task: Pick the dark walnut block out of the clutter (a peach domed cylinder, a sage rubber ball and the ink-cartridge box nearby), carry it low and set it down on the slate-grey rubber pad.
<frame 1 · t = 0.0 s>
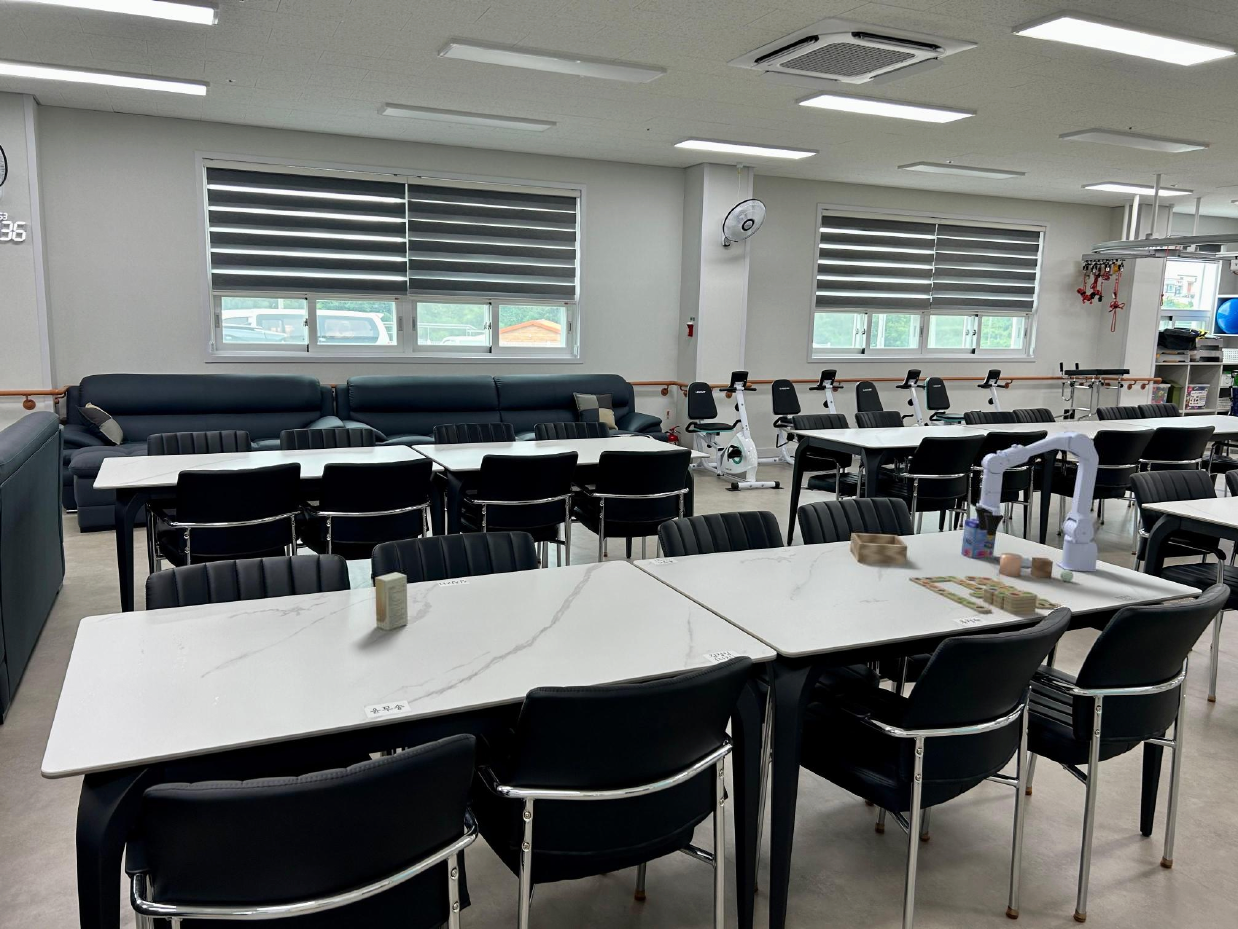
hand: (987, 532, 284), 10 cm above the table, fingers open, 7 cm apart
peach domed cylinder: (1009, 574, 273), on the table
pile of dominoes: (984, 596, 251), on the table
ink cartridge box: (977, 556, 295), on the table
sage ball: (1066, 581, 267), on the table
walnut block: (1040, 576, 272), on the table
skincare box: (391, 626, 209), on the table
slate pad: (1016, 563, 287), on the table
holder corral: (877, 557, 288), on the table
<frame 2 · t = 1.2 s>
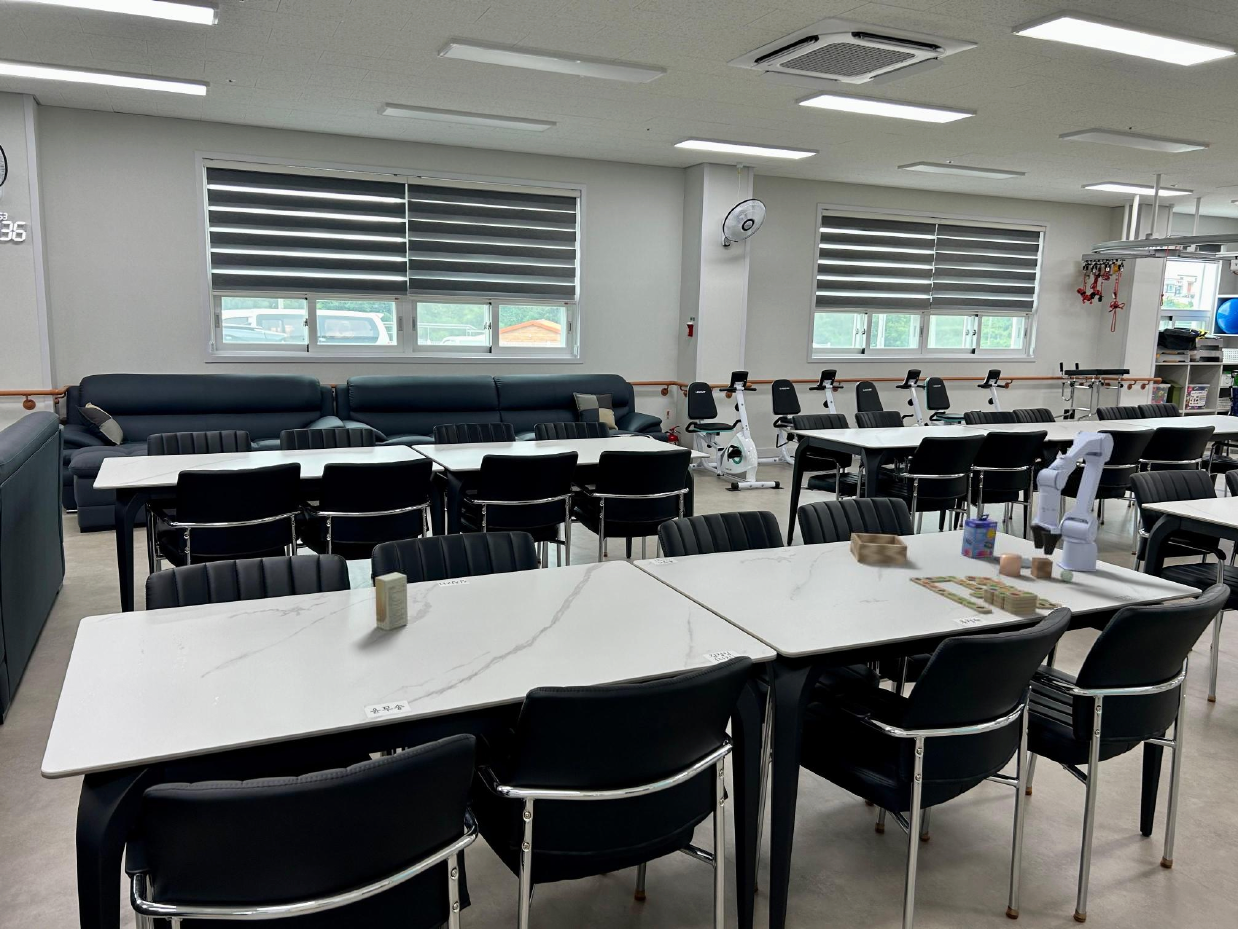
hand: (1043, 551, 270), 8 cm above the table, fingers open, 7 cm apart
nothing on the table moved.
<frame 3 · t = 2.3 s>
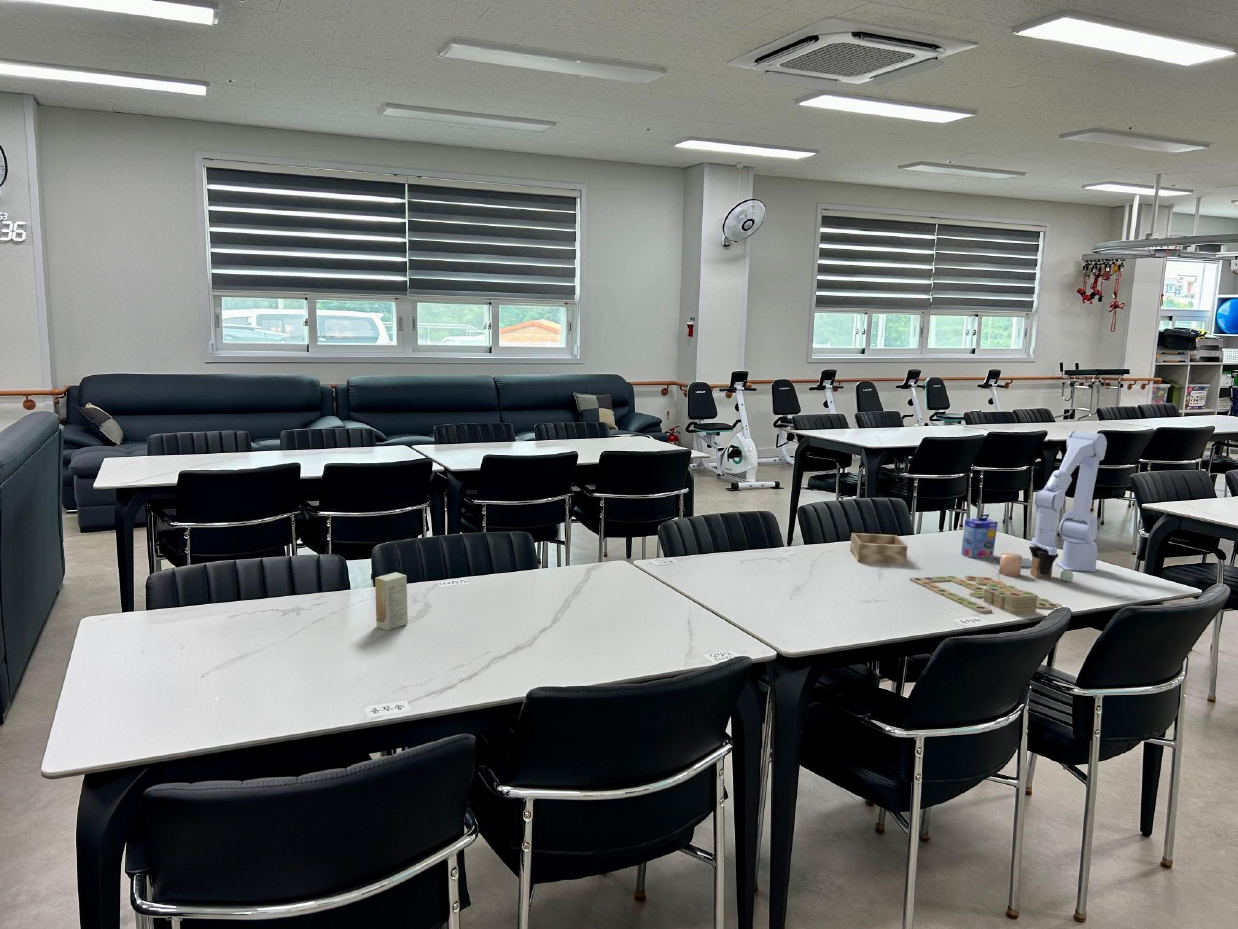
hand: (1041, 572, 271), 1 cm above the table, fingers closed on walnut block, 4 cm apart
walnut block: (1040, 576, 272), on the table, touching gripper
everything else where it was.
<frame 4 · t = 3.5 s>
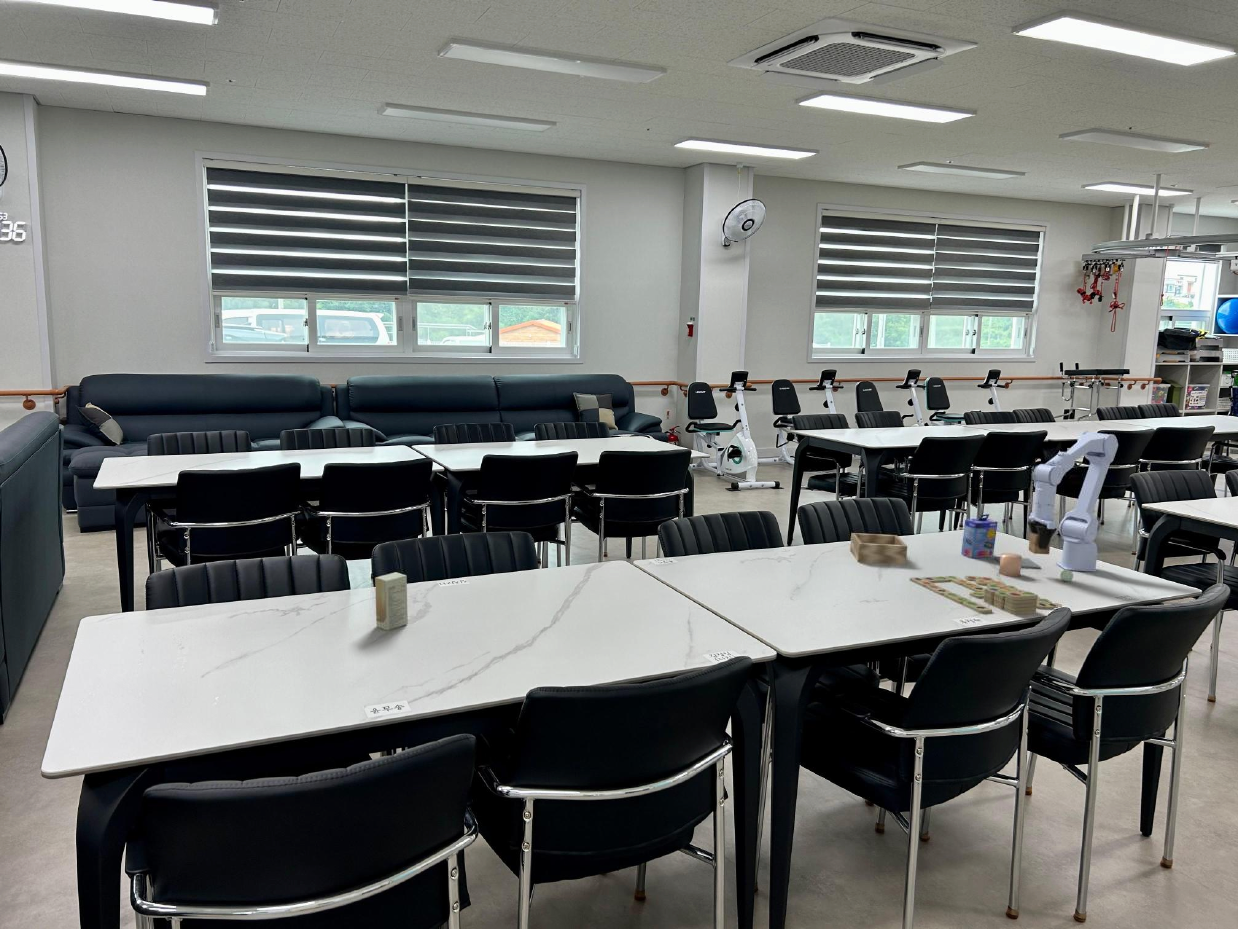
hand: (1039, 546, 273), 9 cm above the table, fingers closed on walnut block, 4 cm apart
walnut block: (1038, 552, 273), point 7 cm above the table, touching gripper
everything else where it was.
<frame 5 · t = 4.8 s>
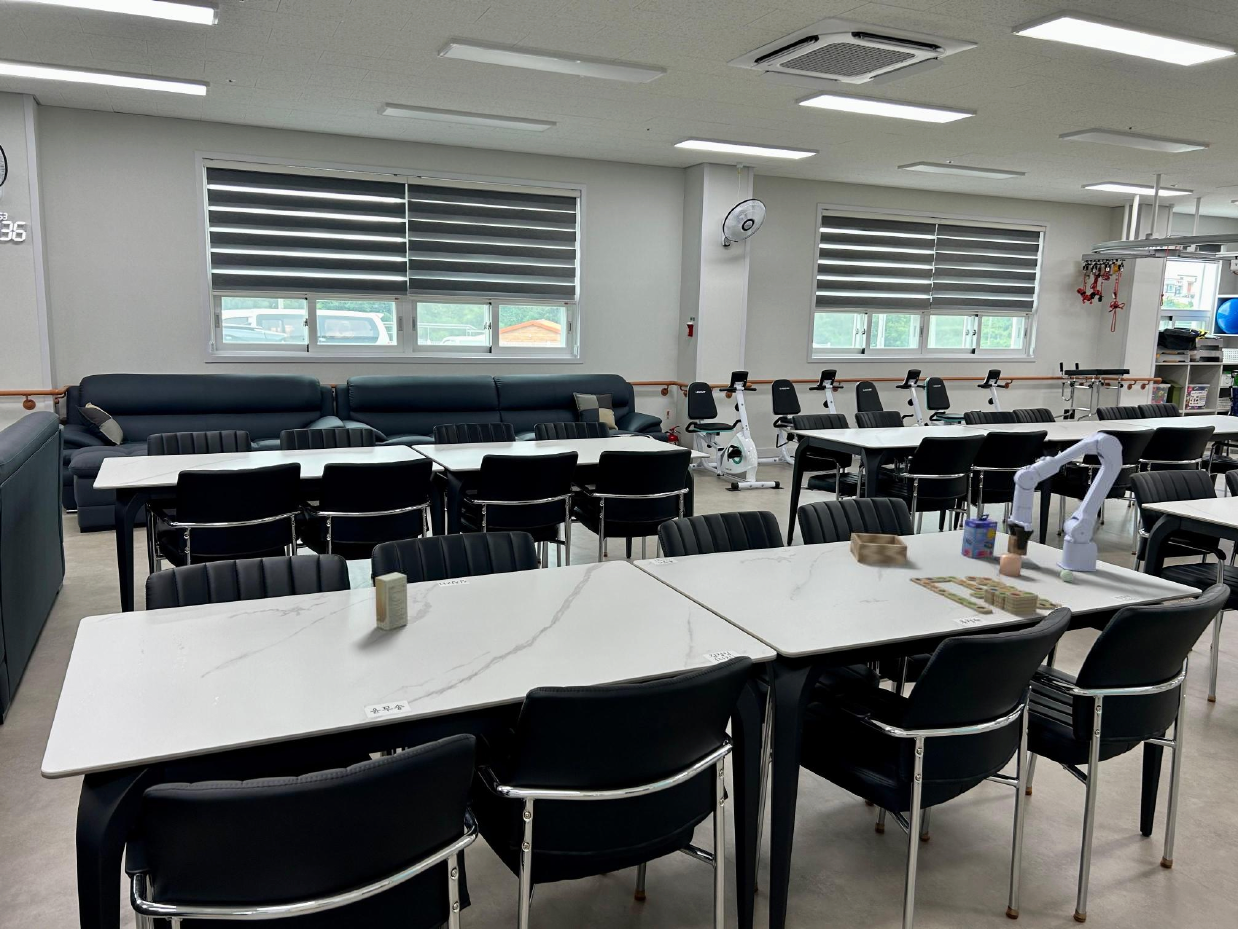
hand: (1018, 547, 286), 5 cm above the table, fingers closed on walnut block, 4 cm apart
walnut block: (1016, 553, 286), point 3 cm above the table, touching gripper
everything else where it was.
when the fingers open (3 cm above the table, at t = 5.7 s): walnut block stays where it is, resting on slate pad.
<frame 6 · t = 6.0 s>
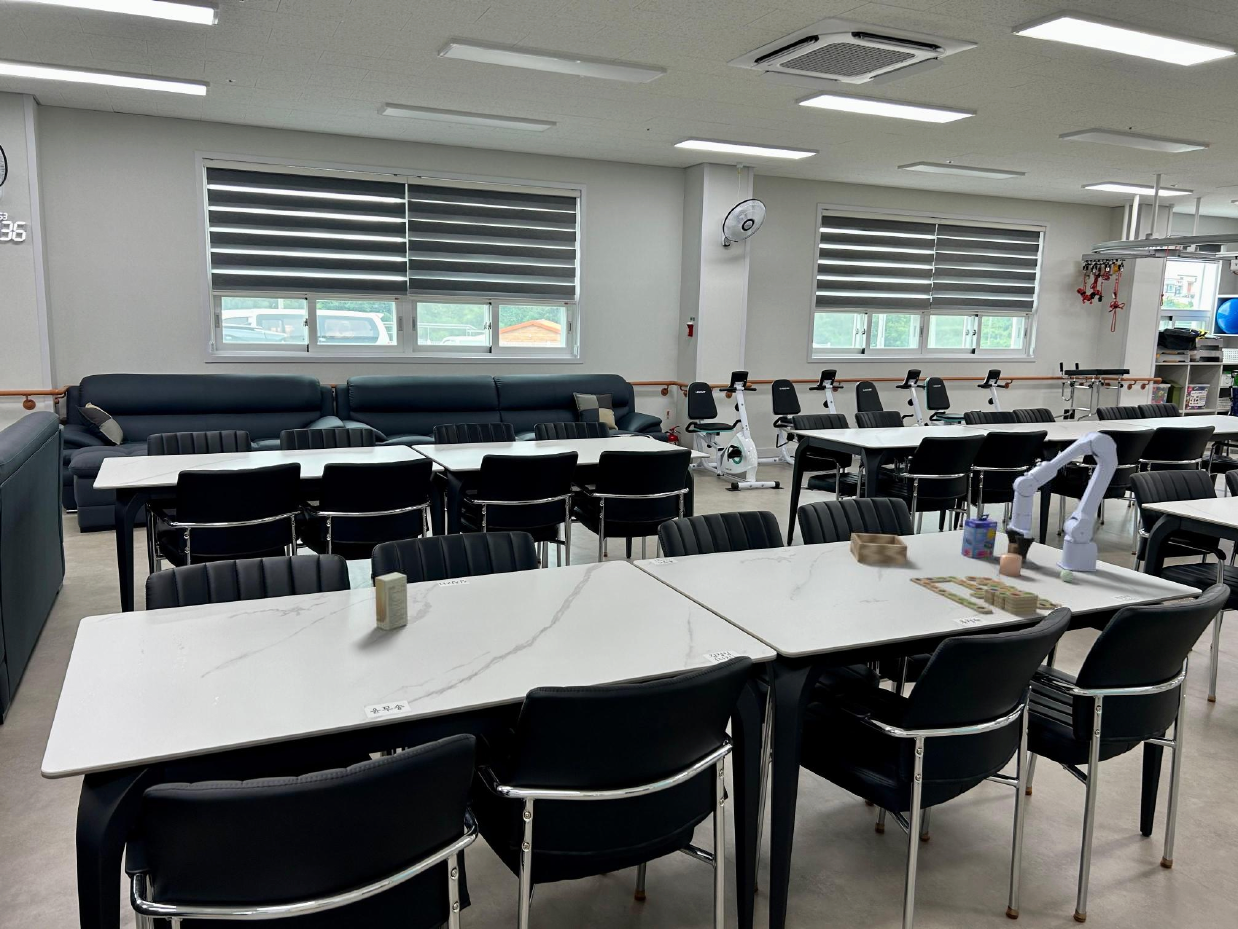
hand: (1017, 554, 286), 3 cm above the table, fingers open, 7 cm apart
walnut block: (1016, 561, 287), point 1 cm above the table, touching slate pad
everything else where it was.
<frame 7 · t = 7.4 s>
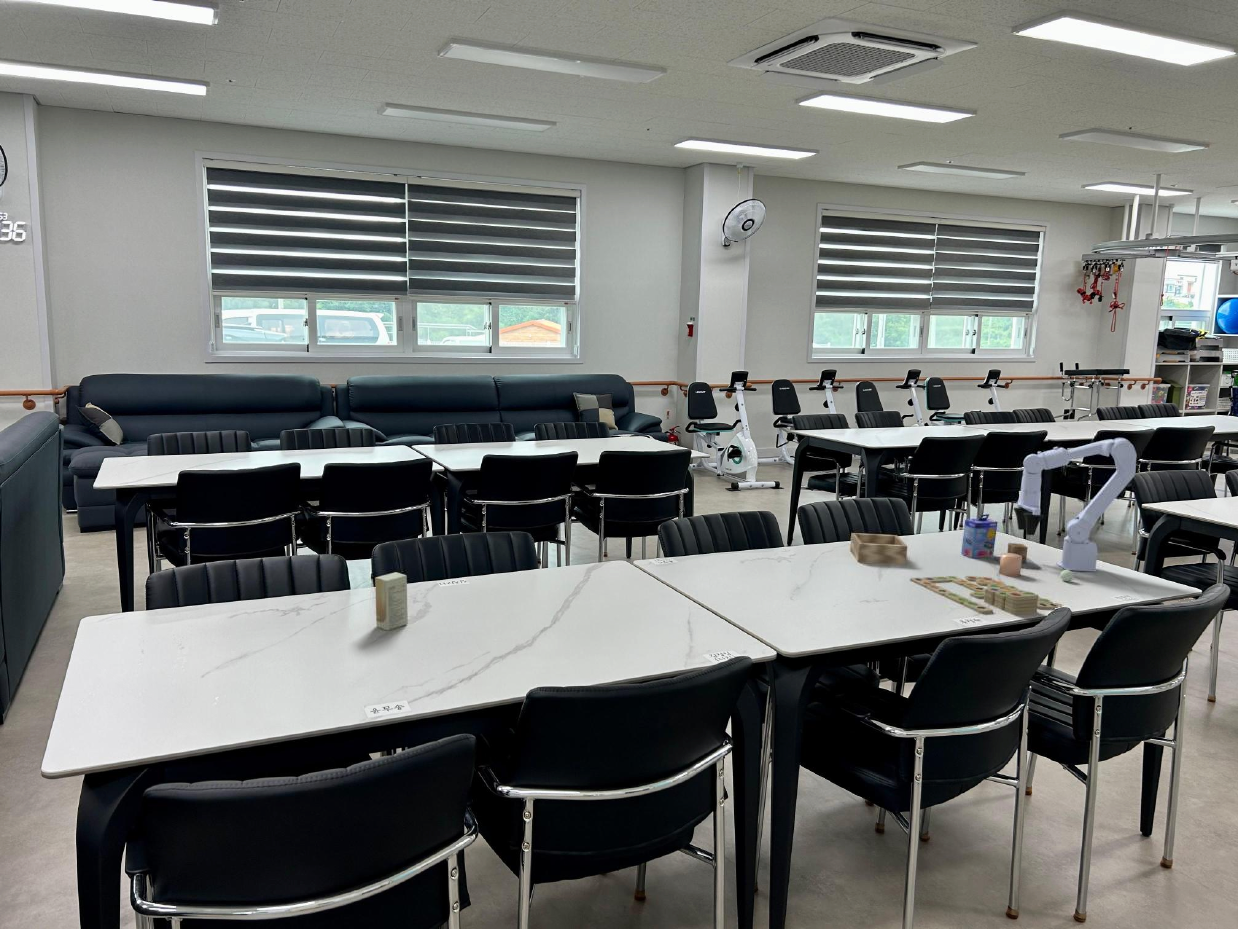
hand: (1026, 532, 288), 10 cm above the table, fingers open, 7 cm apart
nothing on the table moved.
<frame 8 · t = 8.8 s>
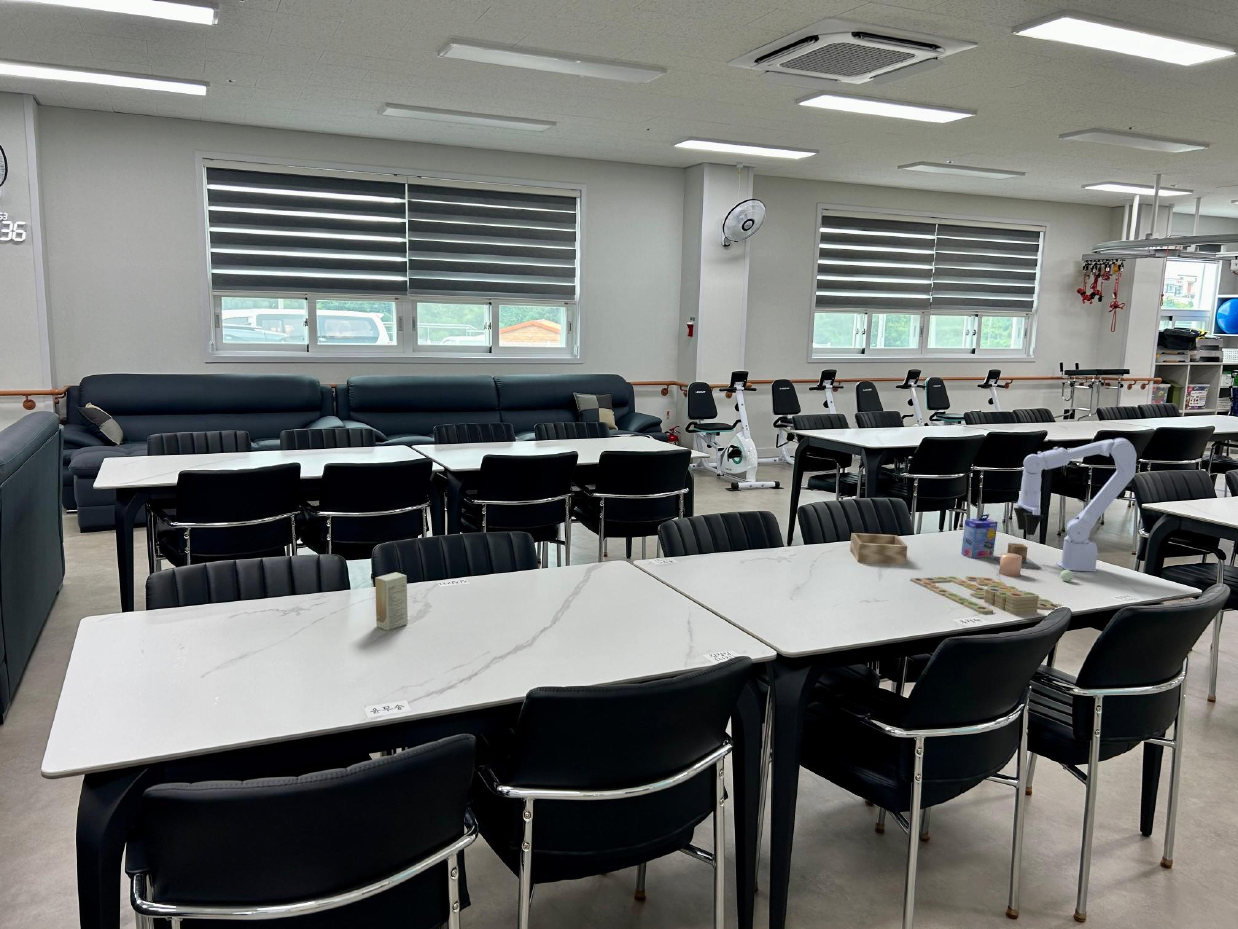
hand: (1026, 532, 288), 10 cm above the table, fingers open, 7 cm apart
nothing on the table moved.
at the end: walnut block inside the target area on the slate pad (0.2 cm from its centre), point 0.6 cm above the slate pad's base; walnut block tilted 0°; the gripper is holding nothing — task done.
